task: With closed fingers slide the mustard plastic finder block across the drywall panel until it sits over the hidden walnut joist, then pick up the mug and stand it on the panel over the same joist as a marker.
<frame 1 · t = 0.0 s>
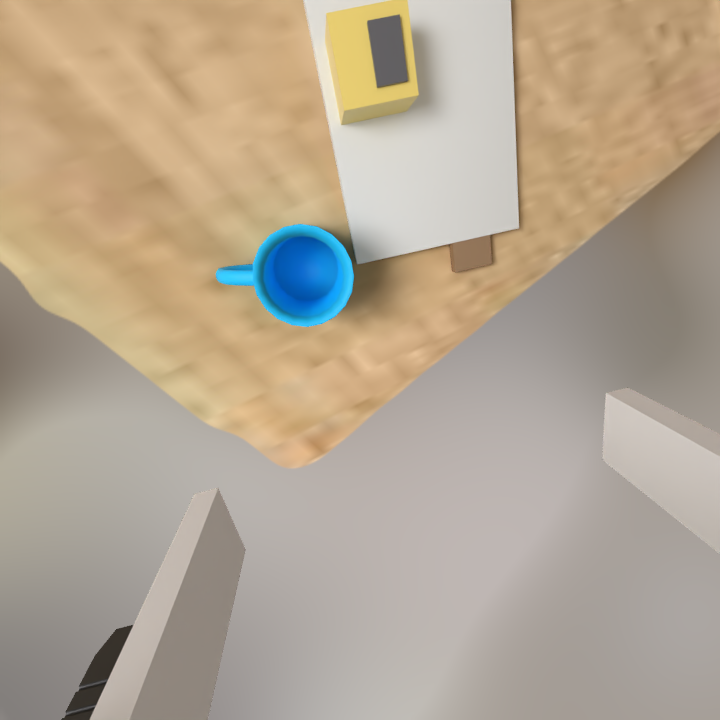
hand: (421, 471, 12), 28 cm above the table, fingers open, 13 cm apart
drywall panel: (419, 112, 32), on the table
mug: (287, 268, 36), on the table
finder block: (367, 77, 30), point 1 cm above the table, touching drywall panel
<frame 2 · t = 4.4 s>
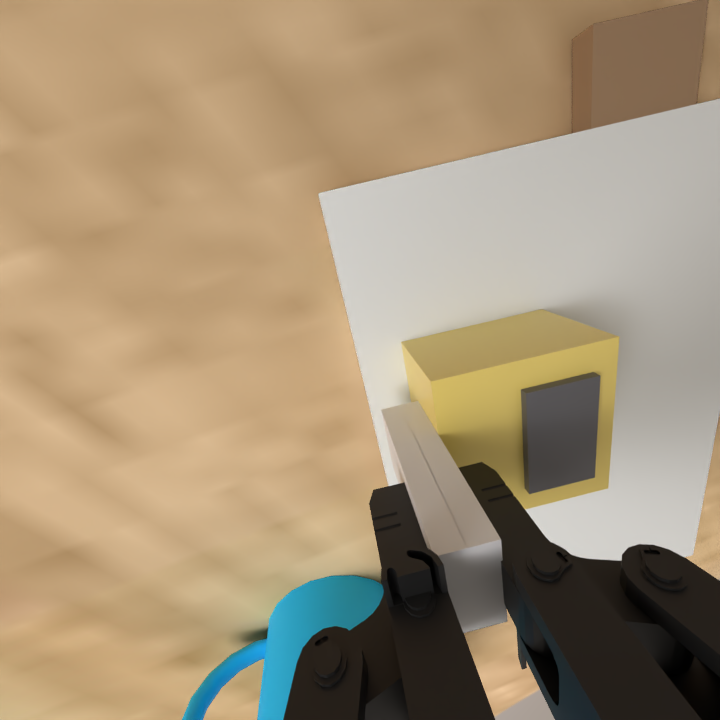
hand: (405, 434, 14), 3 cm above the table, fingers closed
drywall panel: (542, 412, 18), on the table
mug: (304, 623, 22), on the table
finder block: (477, 389, 15), point 1 cm above the table
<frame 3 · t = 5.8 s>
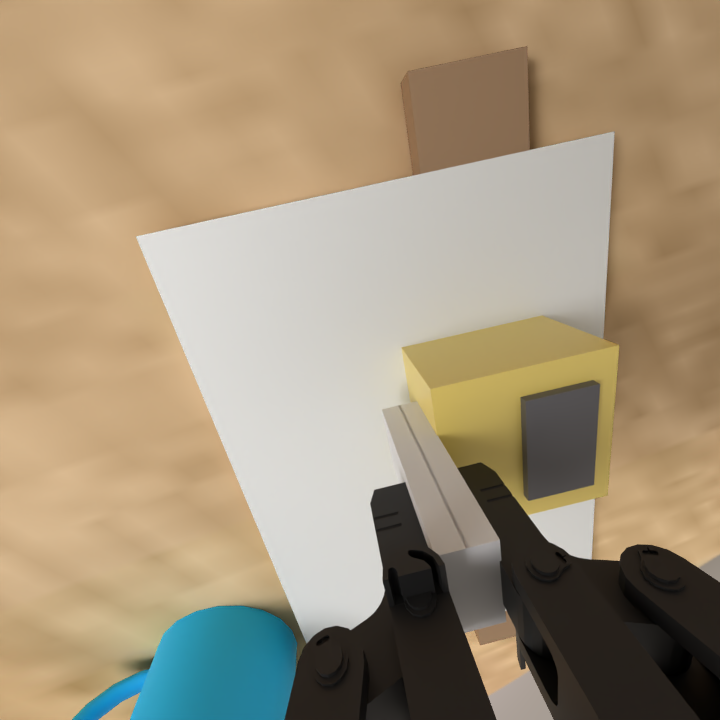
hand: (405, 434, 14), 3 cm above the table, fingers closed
drywall panel: (419, 447, 18), on the table
mug: (197, 652, 21), on the table
finder block: (477, 395, 15), point 1 cm above the table, touching gripper, drywall panel
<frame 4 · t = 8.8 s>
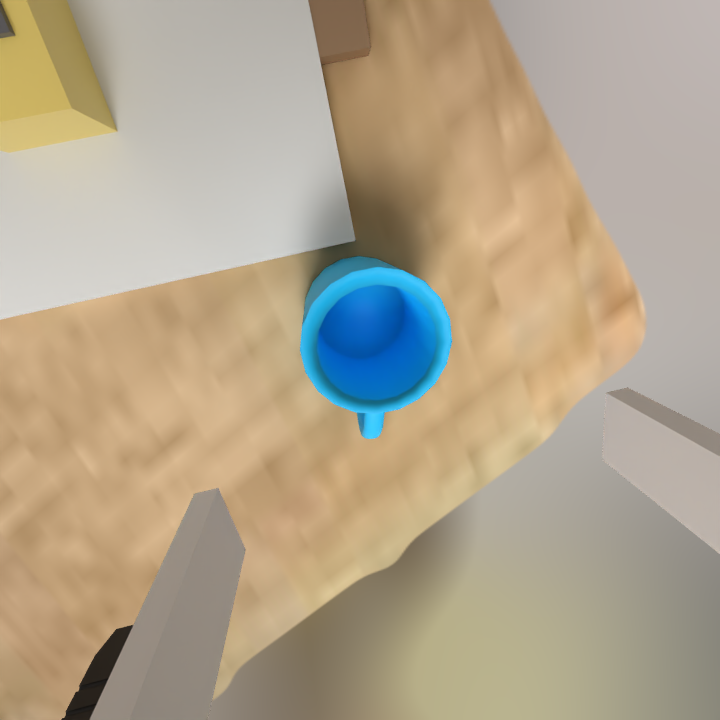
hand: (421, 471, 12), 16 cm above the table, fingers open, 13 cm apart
drywall panel: (126, 135, 21), on the table
mug: (359, 336, 27), on the table
finder block: (35, 77, 18), point 1 cm above the table, touching drywall panel
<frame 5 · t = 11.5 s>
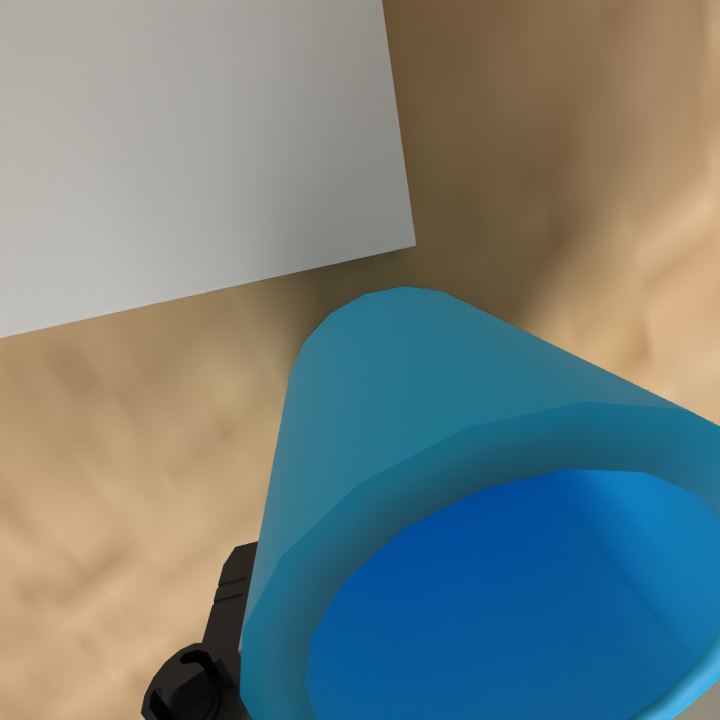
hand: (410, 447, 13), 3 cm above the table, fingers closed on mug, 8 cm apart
mug: (399, 441, 14), point 2 cm above the table, touching gripper
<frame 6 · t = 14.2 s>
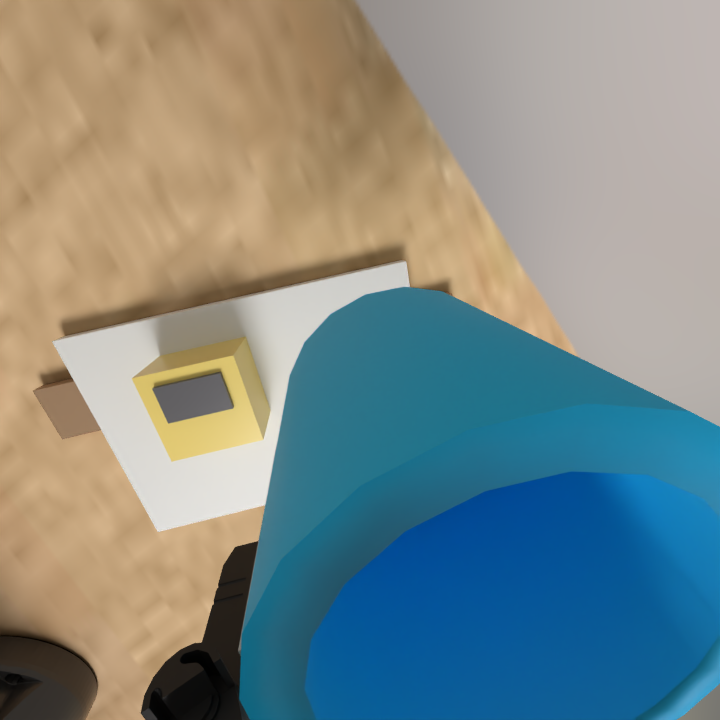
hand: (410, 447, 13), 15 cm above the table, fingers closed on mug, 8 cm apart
drywall panel: (271, 402, 28), on the table
mug: (399, 442, 14), point 14 cm above the table, touching gripper
finder block: (217, 384, 25), point 1 cm above the table, touching drywall panel
when the fingers open (2 cm above the table, at t = 16.7 s): mug stays where it is, resting on drywall panel.
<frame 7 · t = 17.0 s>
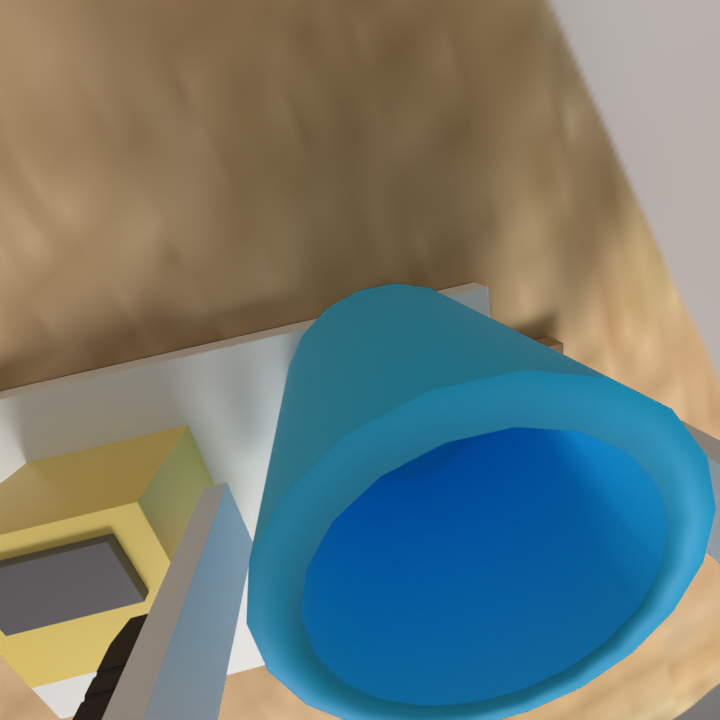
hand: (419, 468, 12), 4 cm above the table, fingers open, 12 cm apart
drywall panel: (243, 519, 16), on the table
mug: (391, 429, 14), point 1 cm above the table, touching drywall panel
finder block: (141, 505, 14), point 1 cm above the table, touching drywall panel
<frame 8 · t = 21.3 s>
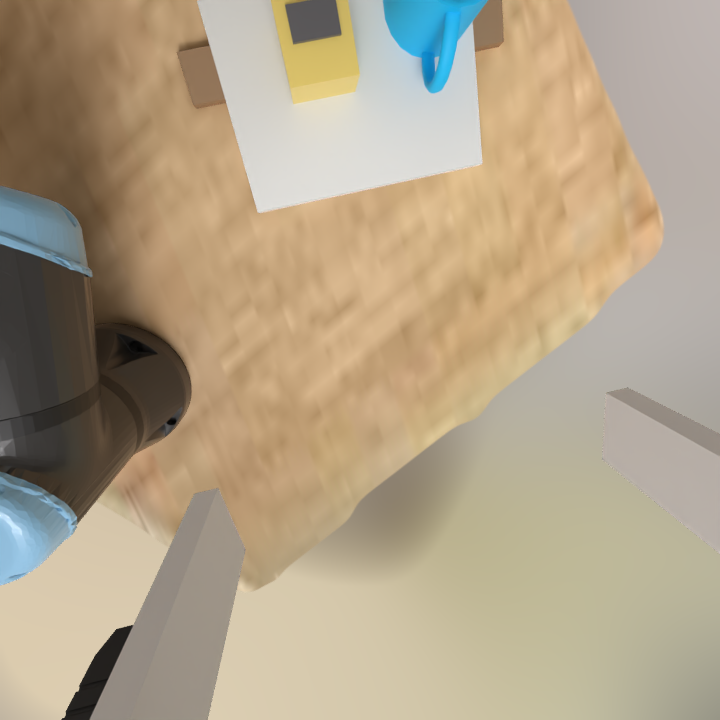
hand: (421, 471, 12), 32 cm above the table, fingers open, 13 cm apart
drywall panel: (353, 95, 34), on the table
mug: (425, 30, 33), point 1 cm above the table, touching drywall panel
finder block: (316, 59, 32), point 1 cm above the table, touching drywall panel
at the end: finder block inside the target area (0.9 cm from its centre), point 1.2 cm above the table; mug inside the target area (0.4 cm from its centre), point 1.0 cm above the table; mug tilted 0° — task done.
